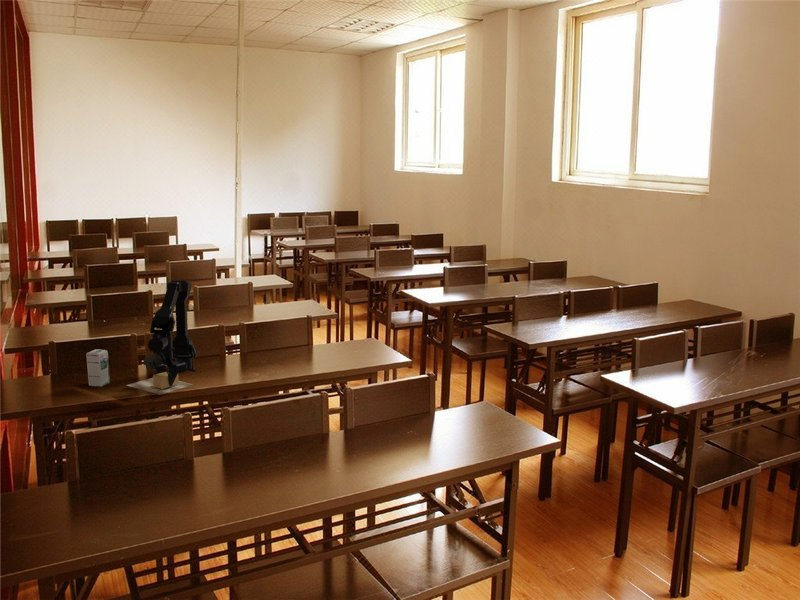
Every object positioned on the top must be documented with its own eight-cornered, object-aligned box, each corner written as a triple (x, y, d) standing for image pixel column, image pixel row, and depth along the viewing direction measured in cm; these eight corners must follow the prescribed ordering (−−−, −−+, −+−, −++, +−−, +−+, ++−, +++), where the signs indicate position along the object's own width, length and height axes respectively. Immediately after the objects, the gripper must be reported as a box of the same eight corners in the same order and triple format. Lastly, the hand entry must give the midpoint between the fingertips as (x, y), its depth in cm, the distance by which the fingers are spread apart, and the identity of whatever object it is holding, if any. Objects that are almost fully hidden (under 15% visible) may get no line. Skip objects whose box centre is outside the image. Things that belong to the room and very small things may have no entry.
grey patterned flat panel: (159, 378, 294) (159, 375, 293) (193, 387, 283) (193, 384, 283) (126, 388, 281) (126, 385, 280) (160, 397, 270) (159, 394, 270)
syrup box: (101, 389, 278) (99, 353, 276) (88, 388, 280) (85, 352, 277) (110, 385, 284) (108, 349, 281) (97, 384, 285) (94, 348, 282)
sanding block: (170, 382, 284) (169, 370, 283) (178, 385, 281) (178, 372, 280) (153, 387, 277) (153, 375, 277) (162, 390, 275) (161, 377, 274)
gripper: (131, 346, 275) (133, 385, 278) (163, 354, 265) (165, 394, 268) (155, 340, 284) (157, 378, 287) (187, 348, 274) (188, 387, 277)
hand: (166, 384), depth 279 cm, fingers closed on sanding block, 5 cm apart
